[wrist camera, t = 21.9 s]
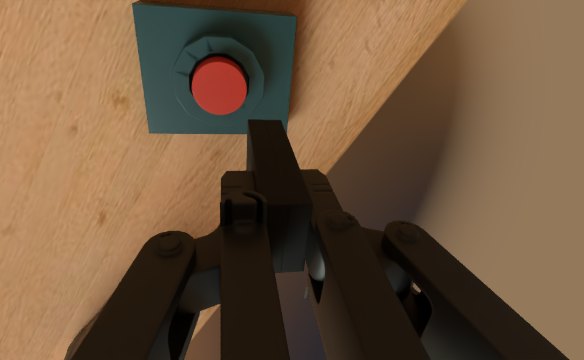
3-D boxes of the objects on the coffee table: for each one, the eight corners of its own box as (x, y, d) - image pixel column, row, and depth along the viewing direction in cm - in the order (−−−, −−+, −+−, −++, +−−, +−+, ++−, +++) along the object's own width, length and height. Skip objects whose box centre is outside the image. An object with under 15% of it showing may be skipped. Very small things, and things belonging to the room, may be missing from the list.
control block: (292, 13, 29) (301, 19, 25) (282, 125, 34) (290, 143, 30) (137, 0, 26) (126, 5, 23) (153, 123, 31) (145, 142, 28)
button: (245, 57, 26) (247, 63, 25) (244, 107, 28) (246, 115, 27) (191, 54, 26) (190, 60, 24) (194, 106, 28) (193, 114, 26)
